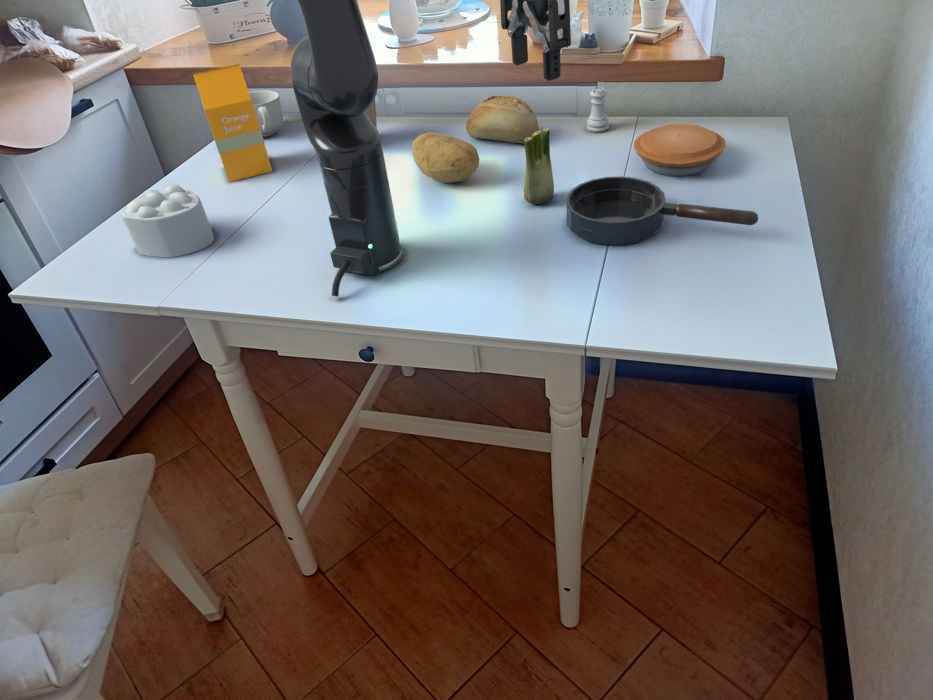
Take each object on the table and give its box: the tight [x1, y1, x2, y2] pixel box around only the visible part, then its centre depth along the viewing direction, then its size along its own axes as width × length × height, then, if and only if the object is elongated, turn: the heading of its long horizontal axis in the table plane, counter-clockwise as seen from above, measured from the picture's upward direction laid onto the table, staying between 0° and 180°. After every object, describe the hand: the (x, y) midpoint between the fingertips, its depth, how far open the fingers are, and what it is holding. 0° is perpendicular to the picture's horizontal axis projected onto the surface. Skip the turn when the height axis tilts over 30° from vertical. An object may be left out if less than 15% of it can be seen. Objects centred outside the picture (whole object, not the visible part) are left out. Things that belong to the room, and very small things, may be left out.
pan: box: [565, 175, 667, 246], centre depth 112 cm, size 15×15×4 cm
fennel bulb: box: [523, 127, 555, 205], centre depth 117 cm, size 6×5×12 cm
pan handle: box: [662, 202, 759, 226], centre depth 105 cm, size 2×14×2 cm, turn 65°
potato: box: [411, 131, 481, 184], centre depth 128 cm, size 10×14×8 cm
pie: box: [633, 123, 727, 177], centre depth 125 cm, size 15×16×5 cm
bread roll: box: [465, 95, 540, 144], centre depth 140 cm, size 10×15×8 cm, turn 69°
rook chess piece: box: [586, 85, 610, 134], centre depth 139 cm, size 4×4×8 cm
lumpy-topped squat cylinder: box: [120, 184, 215, 258], centre depth 121 cm, size 10×13×9 cm
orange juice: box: [192, 63, 273, 183], centre depth 138 cm, size 8×9×20 cm
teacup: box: [249, 89, 284, 138], centre depth 155 cm, size 14×11×8 cm
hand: (535, 71), depth 99 cm, fingers open, 8 cm apart
